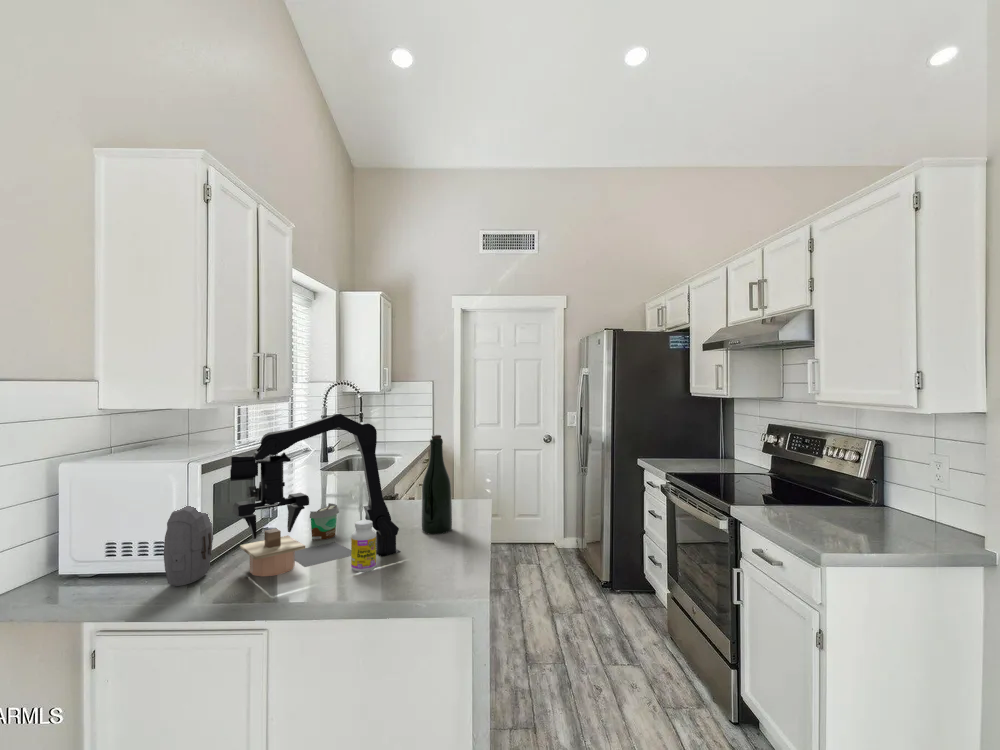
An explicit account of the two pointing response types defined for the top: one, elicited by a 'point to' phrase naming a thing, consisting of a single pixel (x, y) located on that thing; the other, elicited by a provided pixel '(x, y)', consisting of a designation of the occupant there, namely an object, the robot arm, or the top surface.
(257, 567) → the bowl
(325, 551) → the mat
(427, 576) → the top surface
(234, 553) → the top surface
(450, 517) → the dark green wine bottle
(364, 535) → the supplement bottle
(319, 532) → the food container
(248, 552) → the lid
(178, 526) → the small grey backpack
